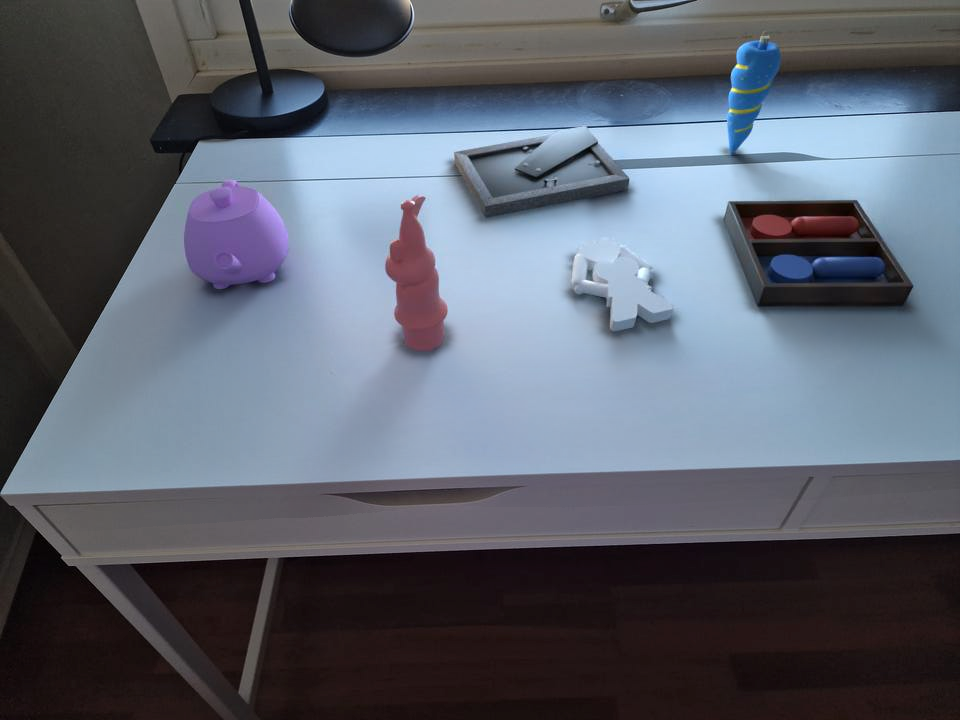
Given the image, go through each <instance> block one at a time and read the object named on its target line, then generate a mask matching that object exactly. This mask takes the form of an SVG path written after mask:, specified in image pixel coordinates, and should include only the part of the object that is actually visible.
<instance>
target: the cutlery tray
mask: <svg viewBox="0 0 960 720" xmlns="http://www.w3.org/2000/svg"><path fill="white" fill-rule="evenodd" d="M760 215H776V216H779V217H782V218H784V219H786V220H787V221H788V222H789V223H790V224H791V222H792V221H793V220H794V219H795V218H797V217H821V216H851V217H854V218H856V219H857V221H858V223H859V227H858V229H857V231H856V232H855V233H854V234H852V235H824V236H798V235H795V234H793V233H792V231H791V233H790V236H789V239H754V238H753V237H752V235H751V233H750V229H751V226H752V223H753V220H754V219H755V218H756V217H758V216H760ZM723 223H724V225H725V228H726V230H727V232H728V235H729V238H730V240H731V243H732V245H733V248H734V250H735V253H736V255H737V258H738V261H739V263H740V266H741V269H742V271H743V274H744V276H745V278H746V281H747V284H748V286H749V289H750V291H751V294H752V297H753V299H754V301H755V304H756V307H758V308H760V307H763V308H764V307H765V308H766V307H767V308H769V307H772V308H773V307H774V308H775V307H780V308H781V307H784V308H785V307H903V306H905V303H906V302H907V300H908V298H909V296H910V294H911V292H912V290H913V289H914V287H915V286H914V284H913V282H912V281H911V279H910V278H909V276H908V275H907V274H906V272H905V271H904V269H903V267H902V266H901V264H900V263H899V261H898V260H897V258H896V257H895V255H894V254H893V252H892V250H891V249H890V248H889V246H888V245H887V243H886V242H885V240H884V238H883V237H882V235H881V234H880V233H879V231H878V229H877V228H876V227H875V225H874V223H873V222H872V221H871V219H870V217H869V216H868V215H867V213H866V212H865V210H864V208H863V207H862V205H861V203H860V202H859V201H858V200H857V199H818V200H816V199H815V200H814V199H813V200H811V199H810V200H805V199H804V200H729V201H728V202H727V205H726V209H725V213H724V216H723ZM779 255H795V256H798V257H801V258H803V259H805V260H807V261H808V262H809V263H810V264H811V265H812V263H813V262H814V261H815V260H816V259H818V258H827V257H877V258H880V259H881V260H882V261H883V262H884V264H885V269H884V272H883V273H882V274H881V275H880V276H878V277H872V278H819V277H816V276H815V275H814V274H813V273H812V276H811V278H810V281H809V283H775V282H774V281H772V280H771V279H770V277H769V275H768V269H769V267H770V264H771V261H772V259H773V258H775V257H776V256H779Z"/></svg>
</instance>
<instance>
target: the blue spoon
mask: <svg viewBox="0 0 960 720" xmlns="http://www.w3.org/2000/svg"><path fill="white" fill-rule="evenodd" d="M884 269H885V264H884V262H883V261H882V260H881V259H880V258H877V257H827V258H818V259H816V260H815V261H814V262H813V263H812V265H811V264H810V263H809V262H808V261H807V260H805V259H803V258H801V257H798V256H795V255H779V256H776V257H775V258H773V259H772V261H771V264H770V267H769V269H768V275H769V277H770V279H771V280H772V281H774V282H775V283H809V281H810V278H811V276H812V273H813V274H814V275H815V276H816V277H819V278H872V277H878V276H880V275H881V274H882V273H883V272H884Z"/></svg>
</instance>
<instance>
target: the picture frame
mask: <svg viewBox="0 0 960 720" xmlns="http://www.w3.org/2000/svg"><path fill="white" fill-rule="evenodd" d="M453 157H454V158H453V159H454V165H455V166H456V168H457V170H458V172H459V173H460V175H461V177H462V179H463V180H464V182H465V184H466V186H467V187H468V189H469V191H470V193H471V195H472V197H473V198H474V200H475V203H476V204H477V206H478V207H479V209H480V211H481V213H482V215H483V217H484V218H485V219H488V218H493V217H498V216H504V215H508V214H512V213H513V214H514V213H517V212H523V211H529V210H534V209H537V208H538V209H539V208H543V207H549V206H552V205H553V206H554V205H559V204H564V203H568V202H575V201H579V200H583V199H589V198H593V197H600V196H604V195H609V194H615V193H620V192H624V191H628V190H629V187H630V186H629V185H630V177H629V176H628V175H627V174H626V173H625V171H624V170H623V169H622V168H621V167H620V166H619V164H617V163H616V161H615V160H614V159H613V158H612V157H611V155H610V154H609V153H608V152H607V151H606V150H605V149H604V148H603V147H602V146H601V144H599V140H598V139H597V138H596V137H595V136H594V135H593V133H592V132H591V131H590V129H589V128H588V127H587V126H586V125H582V126H577V127H571V128H565V129H560V130H555V131H554V132H553V133H552V134H549V135H544V136H536V137H531V138H526V139H521V140H515V141H508V142H503V143H497V144H491V145H485V146H481V147H480V146H479V147H473V148H469V149H464V150H458V151H454V152H453Z"/></svg>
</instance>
